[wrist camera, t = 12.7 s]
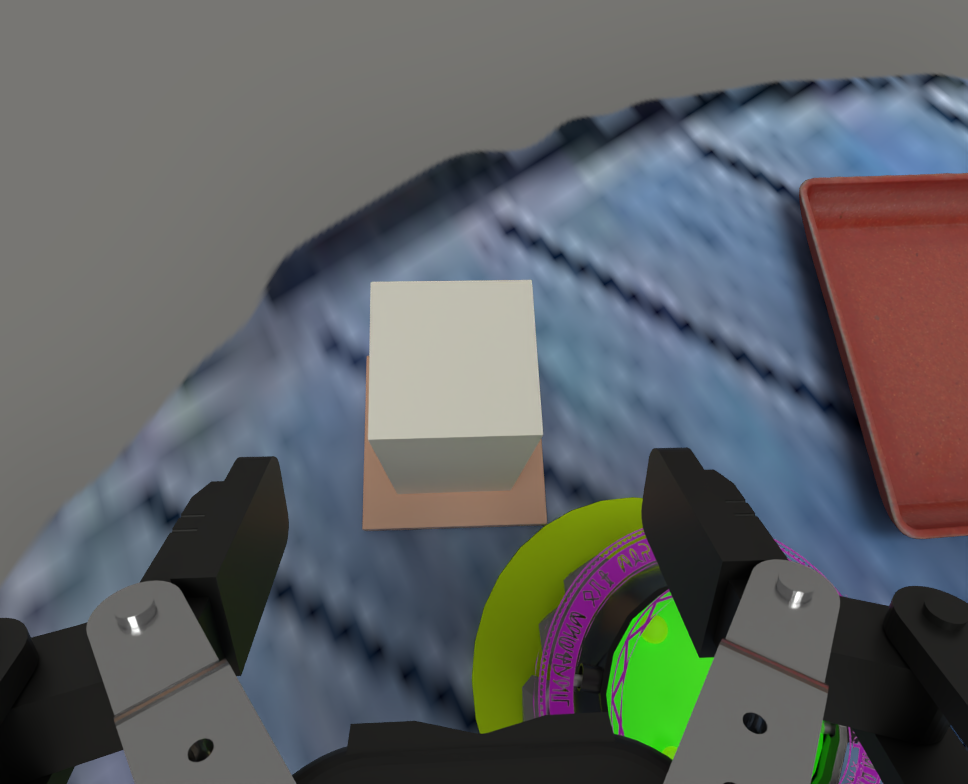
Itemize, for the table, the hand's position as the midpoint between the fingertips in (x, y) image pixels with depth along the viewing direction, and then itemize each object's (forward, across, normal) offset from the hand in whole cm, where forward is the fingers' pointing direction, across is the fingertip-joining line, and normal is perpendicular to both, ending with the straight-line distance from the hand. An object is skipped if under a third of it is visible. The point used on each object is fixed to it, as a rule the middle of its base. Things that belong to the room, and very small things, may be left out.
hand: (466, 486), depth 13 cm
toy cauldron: (+6, -8, +15) cm, 18 cm away
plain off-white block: (+13, 0, +6) cm, 14 cm away
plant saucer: (+17, -27, +5) cm, 32 cm away
